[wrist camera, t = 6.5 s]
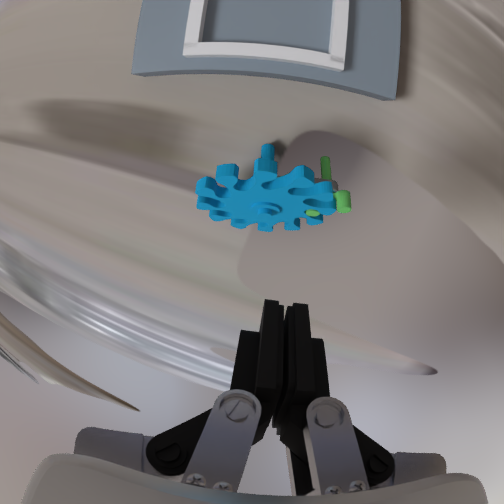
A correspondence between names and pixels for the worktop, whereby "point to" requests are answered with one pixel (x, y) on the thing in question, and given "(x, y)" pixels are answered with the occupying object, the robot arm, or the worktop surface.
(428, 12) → the worktop surface
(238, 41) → the plate
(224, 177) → the blue cogwheel with peg
